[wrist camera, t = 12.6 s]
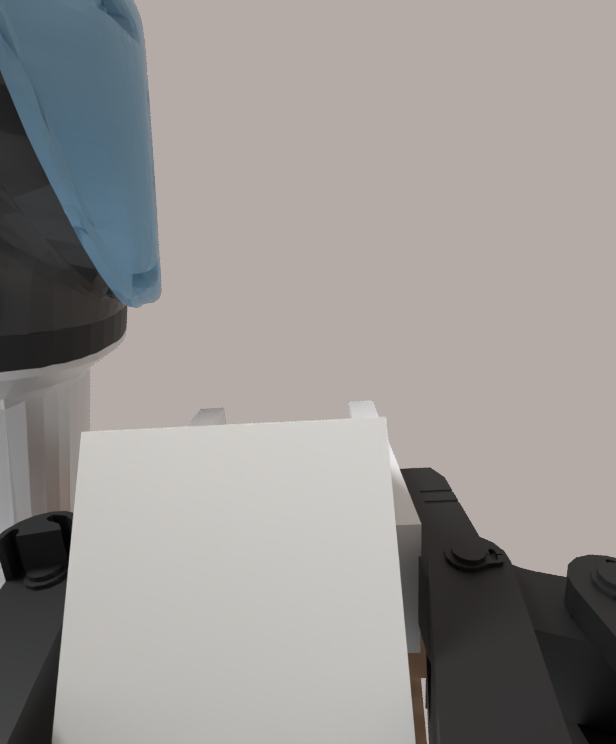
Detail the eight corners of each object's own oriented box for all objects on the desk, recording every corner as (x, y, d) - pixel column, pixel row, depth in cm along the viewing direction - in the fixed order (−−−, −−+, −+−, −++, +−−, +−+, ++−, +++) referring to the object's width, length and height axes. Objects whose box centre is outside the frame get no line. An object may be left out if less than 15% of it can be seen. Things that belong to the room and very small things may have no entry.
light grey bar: (-7, 863, 4) (50, 382, 6) (279, 539, 31) (278, 466, 32) (476, 857, 4) (419, 362, 6) (349, 537, 30) (344, 462, 32)
